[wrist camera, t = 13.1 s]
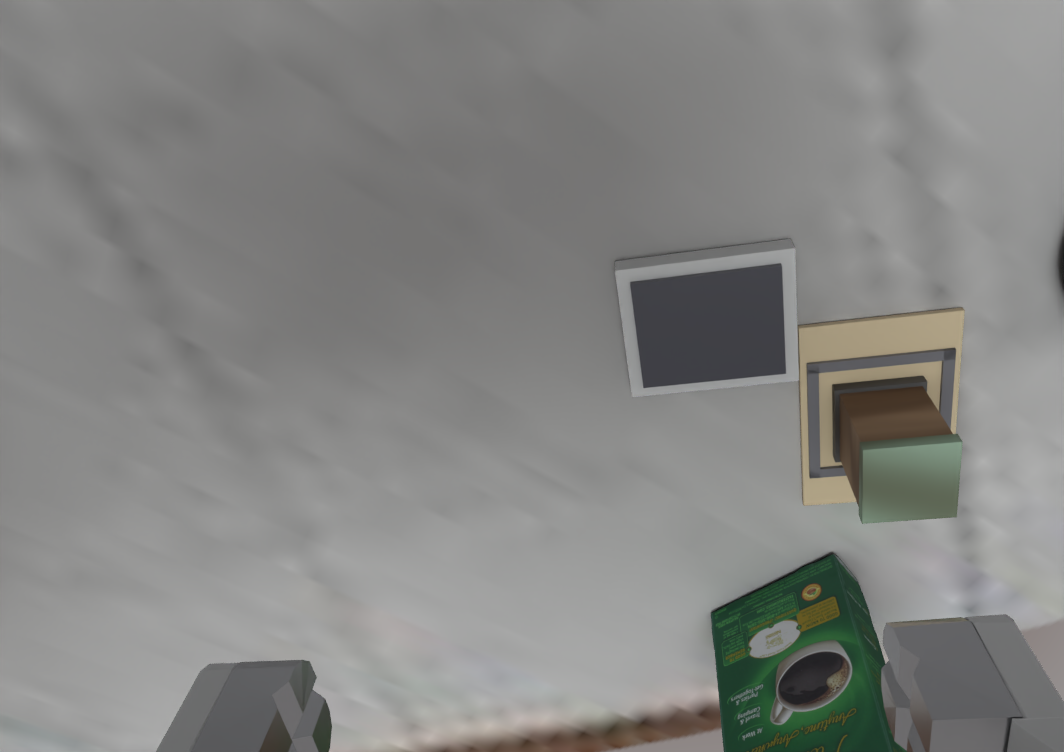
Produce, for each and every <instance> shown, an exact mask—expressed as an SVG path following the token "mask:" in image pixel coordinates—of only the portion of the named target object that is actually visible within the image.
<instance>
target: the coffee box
mask: <svg viewBox="0 0 1064 752" xmlns="http://www.w3.org/2000/svg"><path fill="white" fill-rule="evenodd" d="M711 619H712V635H713V643H714V650H715V659H716V671H717V680H718V691H719V702H720V716H721V727H722V737H723V747H724V752H907V751H906V750H905V749H904V748H902V747H901V746H900V745H899V744H897V743H896V742H895V741H894V738H893V735H892V733H891V730H890V727H889V724H888V720H887V717H886V713H885V709H884V703H883V696H882V688H881V668H882V667H883V666H884V665H885V661H884V658H883V655H882V651H881V648H880V645H879V641H878V638H877V634H876V632H875V630H874V627H873V624H872V621H871V617H870V614H869V610H868V607H867V604H866V602H865V599H864V596H863V593H862V591H861V588H860V586H859V584H858V581H857V579H856V578H855V577H854V576H853V574H852V573H851V572H850V571H849V570H848V569H847V567H846V566H845V565H844V564H843V562H842V561H841V560H840V559H839V557H837V556H835V555H834V554H832V555H830V556H828V557H826V558H824V559H822V560H820V561H818V562H815V563H813V564H810V565H806V566H804V567H802V568H800V569H799V570H798V571H797V572H795V573H794V574H791V575H789V576H788V577H785V578H783V579H781V580H779V581H777V582H775V583H772V584H770V585H769V586H766V587H764V588H762V589H760V590H758V591H756V592H754V593H752V594H750V595H748V596H745V597H742V598H740V599H738V600H736V601H734V602H732V603H731V604H729V605H727V606H725V607H723V608H721V609H719V610H717V611H715V612H712V613H711Z"/></svg>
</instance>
